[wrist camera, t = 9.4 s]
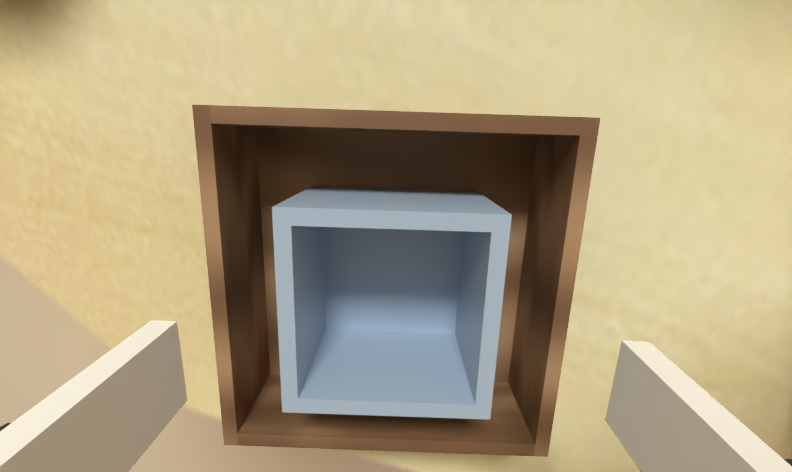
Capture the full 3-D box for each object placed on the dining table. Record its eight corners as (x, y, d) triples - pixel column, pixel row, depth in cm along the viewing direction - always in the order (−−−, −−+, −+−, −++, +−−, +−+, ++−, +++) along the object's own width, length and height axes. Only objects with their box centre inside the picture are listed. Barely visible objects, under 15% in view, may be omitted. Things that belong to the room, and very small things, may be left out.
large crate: (247, 114, 21) (192, 104, 15) (547, 123, 21) (599, 118, 15) (263, 377, 25) (224, 444, 19) (514, 386, 25) (547, 456, 19)
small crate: (313, 185, 21) (271, 206, 14) (476, 190, 21) (512, 214, 14) (316, 332, 23) (282, 412, 16) (464, 337, 23) (490, 419, 16)
